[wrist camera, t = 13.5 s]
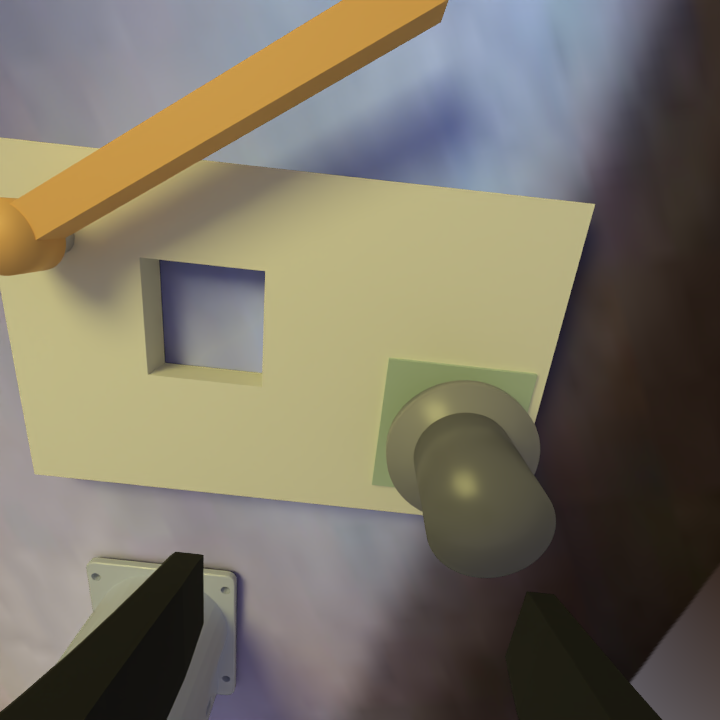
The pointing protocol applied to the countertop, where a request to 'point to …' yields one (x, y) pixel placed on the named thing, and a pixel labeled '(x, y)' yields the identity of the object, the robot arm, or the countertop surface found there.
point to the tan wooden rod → (205, 123)
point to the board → (280, 324)
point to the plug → (472, 477)
